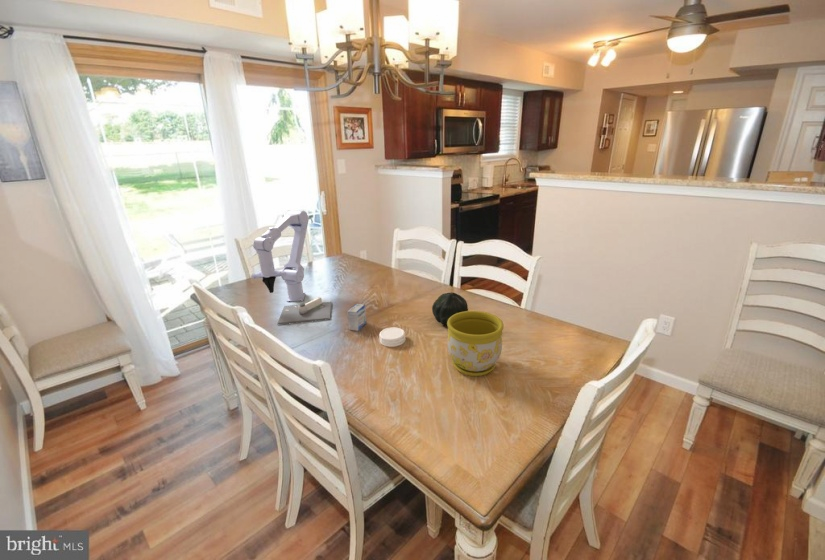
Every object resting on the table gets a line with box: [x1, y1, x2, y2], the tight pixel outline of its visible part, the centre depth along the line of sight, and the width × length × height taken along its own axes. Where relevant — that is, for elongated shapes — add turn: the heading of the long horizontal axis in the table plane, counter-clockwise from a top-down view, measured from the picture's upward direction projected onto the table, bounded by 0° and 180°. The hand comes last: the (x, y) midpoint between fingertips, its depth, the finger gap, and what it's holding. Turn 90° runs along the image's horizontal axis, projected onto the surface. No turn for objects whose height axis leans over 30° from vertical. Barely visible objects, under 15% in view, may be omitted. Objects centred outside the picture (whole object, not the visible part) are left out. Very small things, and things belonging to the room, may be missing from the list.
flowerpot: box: [446, 310, 505, 377], centre depth 119 cm, size 18×18×16 cm
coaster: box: [378, 326, 406, 348], centre depth 139 cm, size 10×10×4 cm
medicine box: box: [346, 303, 367, 332], centre depth 150 cm, size 8×4×9 cm, turn 161°
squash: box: [431, 292, 469, 325], centre depth 151 cm, size 14×15×15 cm
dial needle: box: [297, 296, 323, 314], centre depth 167 cm, size 13×4×4 cm, turn 148°
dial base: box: [277, 301, 332, 325], centre depth 165 cm, size 18×22×1 cm
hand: (271, 292), depth 166 cm, fingers closed
